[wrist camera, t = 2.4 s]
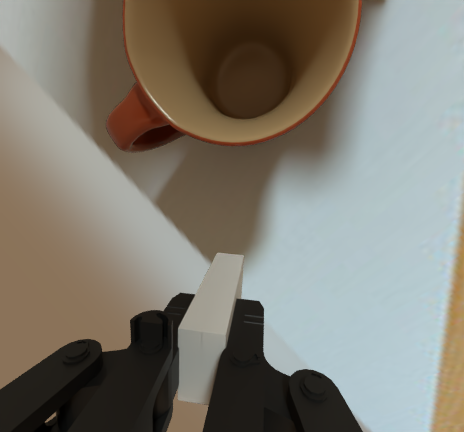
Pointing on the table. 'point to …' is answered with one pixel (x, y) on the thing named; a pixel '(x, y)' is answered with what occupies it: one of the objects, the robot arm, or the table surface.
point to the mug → (229, 68)
